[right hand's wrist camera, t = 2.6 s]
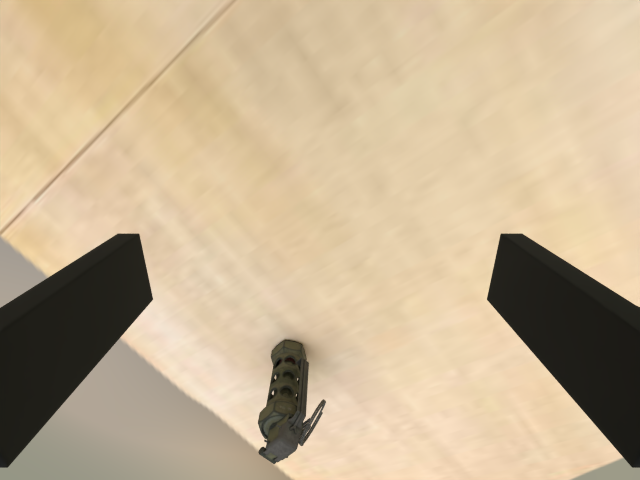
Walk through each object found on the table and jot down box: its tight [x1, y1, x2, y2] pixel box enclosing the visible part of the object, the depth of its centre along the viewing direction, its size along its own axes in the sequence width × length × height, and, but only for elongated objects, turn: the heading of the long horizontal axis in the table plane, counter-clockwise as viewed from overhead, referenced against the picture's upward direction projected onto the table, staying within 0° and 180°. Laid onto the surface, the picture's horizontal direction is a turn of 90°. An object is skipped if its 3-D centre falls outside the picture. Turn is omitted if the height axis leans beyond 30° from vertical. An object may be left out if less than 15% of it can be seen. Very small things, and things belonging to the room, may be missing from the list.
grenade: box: [258, 340, 326, 464], centre depth 41 cm, size 9×6×15 cm, turn 134°
